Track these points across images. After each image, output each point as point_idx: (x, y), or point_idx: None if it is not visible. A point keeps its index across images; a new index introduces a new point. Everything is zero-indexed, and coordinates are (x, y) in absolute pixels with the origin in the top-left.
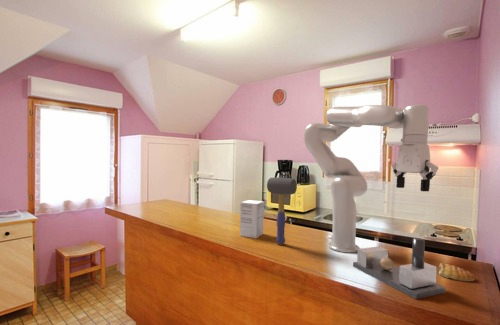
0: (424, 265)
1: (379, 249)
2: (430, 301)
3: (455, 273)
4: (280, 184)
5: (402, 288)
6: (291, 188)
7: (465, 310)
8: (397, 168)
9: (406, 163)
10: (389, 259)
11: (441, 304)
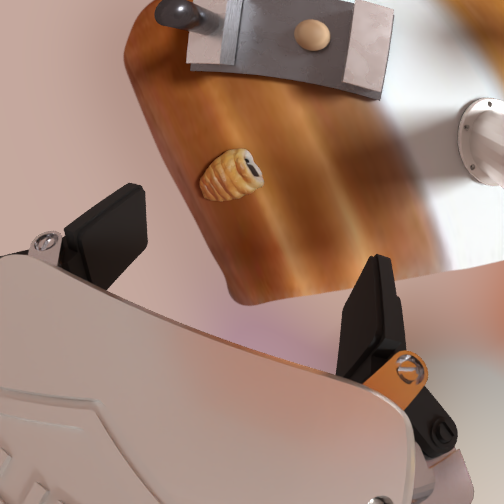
0: (203, 43)
1: (359, 60)
2: None
3: (216, 161)
4: None
5: None
6: None
7: (148, 41)
8: (385, 438)
9: (92, 479)
10: (302, 32)
11: None
